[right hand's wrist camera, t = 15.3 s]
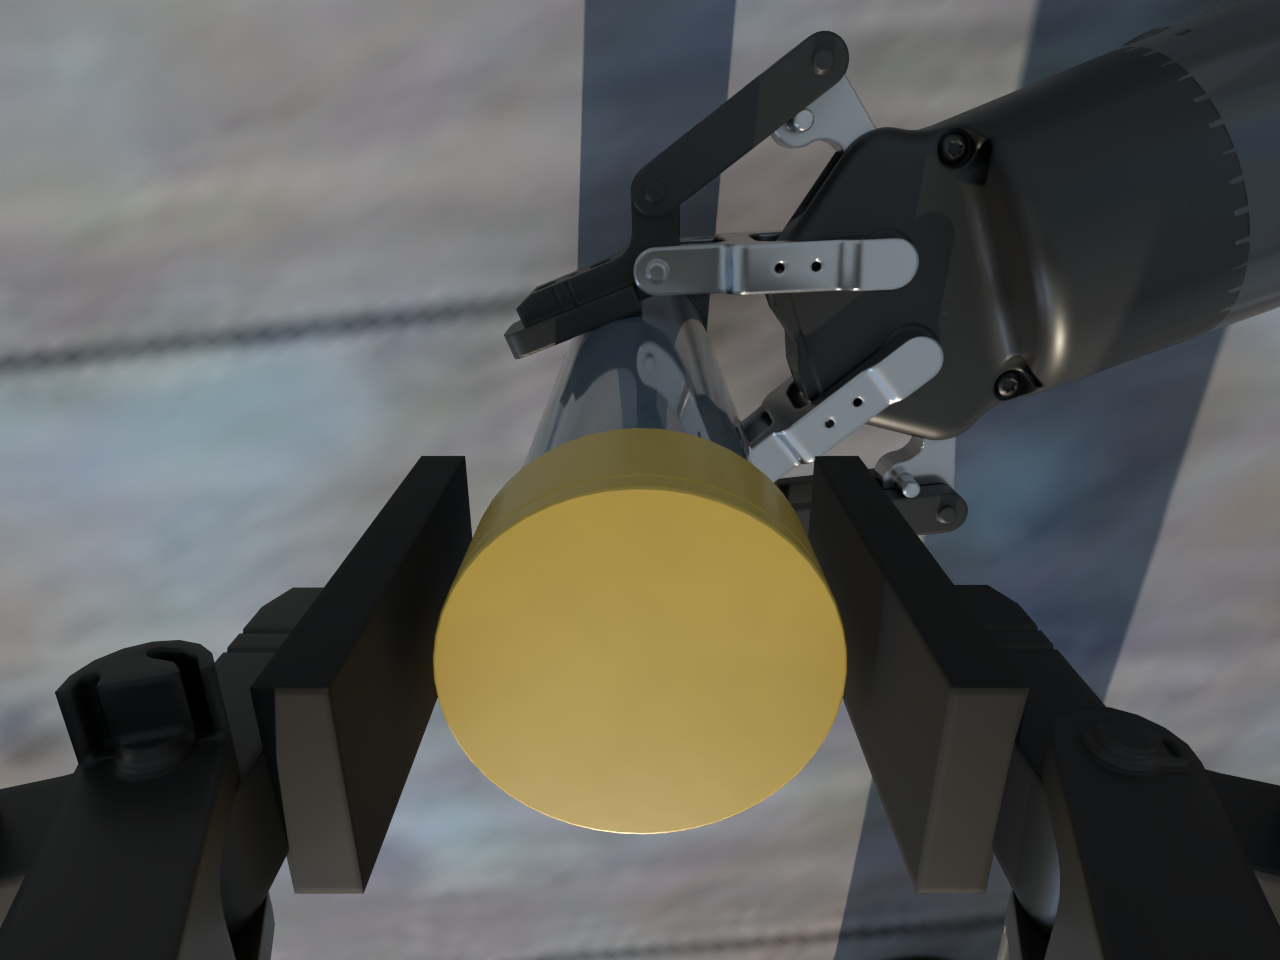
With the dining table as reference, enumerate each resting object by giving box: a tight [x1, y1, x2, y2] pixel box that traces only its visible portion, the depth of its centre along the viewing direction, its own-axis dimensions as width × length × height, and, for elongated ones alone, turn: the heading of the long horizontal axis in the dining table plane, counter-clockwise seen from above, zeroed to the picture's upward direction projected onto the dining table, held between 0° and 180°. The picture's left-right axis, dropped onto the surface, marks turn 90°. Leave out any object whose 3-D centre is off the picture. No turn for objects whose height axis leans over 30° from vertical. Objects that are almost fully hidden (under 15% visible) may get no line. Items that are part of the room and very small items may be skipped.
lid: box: [433, 428, 847, 834], centre depth 11 cm, size 5×5×2 cm
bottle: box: [522, 295, 759, 469], centre depth 20 cm, size 5×5×19 cm
